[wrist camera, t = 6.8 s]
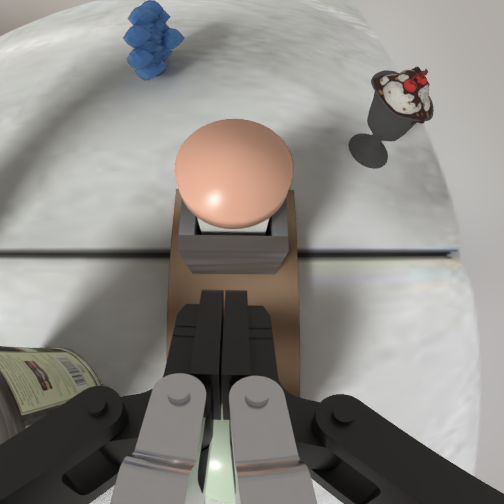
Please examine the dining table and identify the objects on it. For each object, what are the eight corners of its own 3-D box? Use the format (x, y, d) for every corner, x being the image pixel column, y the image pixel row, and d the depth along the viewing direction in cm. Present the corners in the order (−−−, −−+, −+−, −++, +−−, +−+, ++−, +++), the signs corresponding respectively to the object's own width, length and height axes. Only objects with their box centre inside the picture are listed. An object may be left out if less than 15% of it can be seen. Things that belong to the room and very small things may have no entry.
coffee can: (19, 413, 23) (-72, 430, 9) (37, 330, 25) (-62, 313, 12) (95, 461, 22) (18, 518, 9) (118, 375, 25) (29, 394, 12)
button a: (273, 459, 21) (288, 501, 13) (193, 459, 20) (178, 500, 13) (274, 387, 22) (291, 406, 15) (191, 386, 22) (172, 405, 15)
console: (294, 457, 24) (317, 499, 15) (174, 456, 23) (150, 498, 15) (290, 199, 31) (309, 148, 22) (179, 198, 30) (161, 146, 21)
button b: (277, 258, 23) (296, 219, 15) (189, 257, 22) (168, 218, 15) (275, 180, 24) (289, 121, 17) (194, 179, 24) (181, 119, 17)
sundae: (353, 178, 32) (416, 83, 17) (334, 129, 34) (377, 30, 19) (401, 173, 33) (471, 92, 18) (380, 128, 34) (432, 41, 20)
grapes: (180, 101, 34) (166, 23, 22) (129, 103, 34) (103, 31, 22) (196, 48, 37) (190, -20, 26) (151, 50, 37) (138, -15, 25)
